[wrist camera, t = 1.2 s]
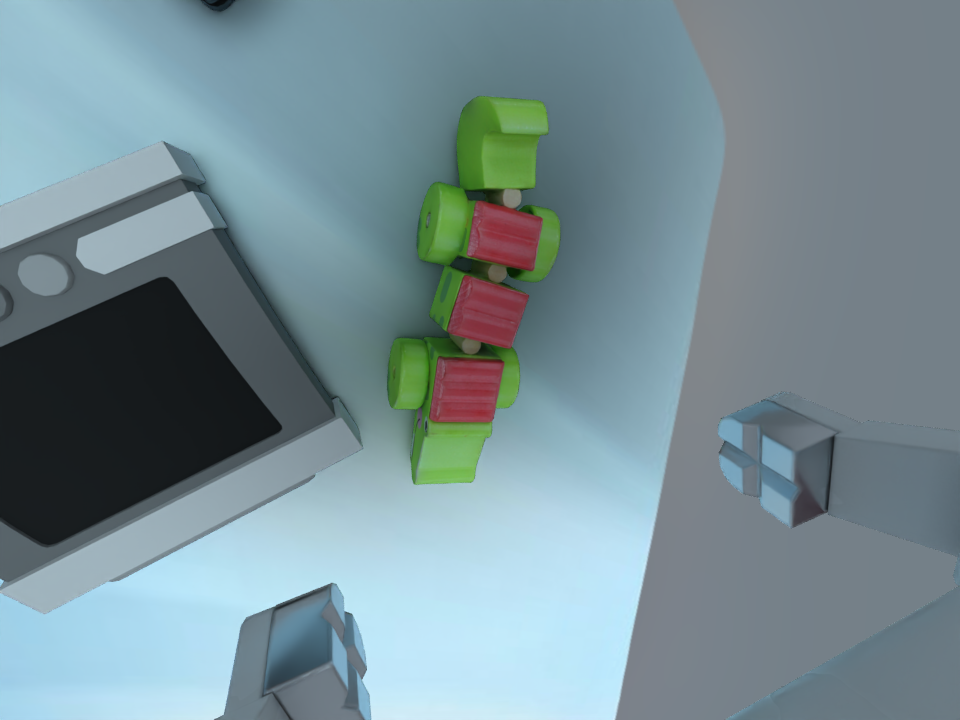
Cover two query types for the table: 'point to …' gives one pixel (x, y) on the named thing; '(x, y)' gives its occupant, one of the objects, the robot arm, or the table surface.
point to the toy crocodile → (474, 289)
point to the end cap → (218, 4)
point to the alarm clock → (139, 380)
